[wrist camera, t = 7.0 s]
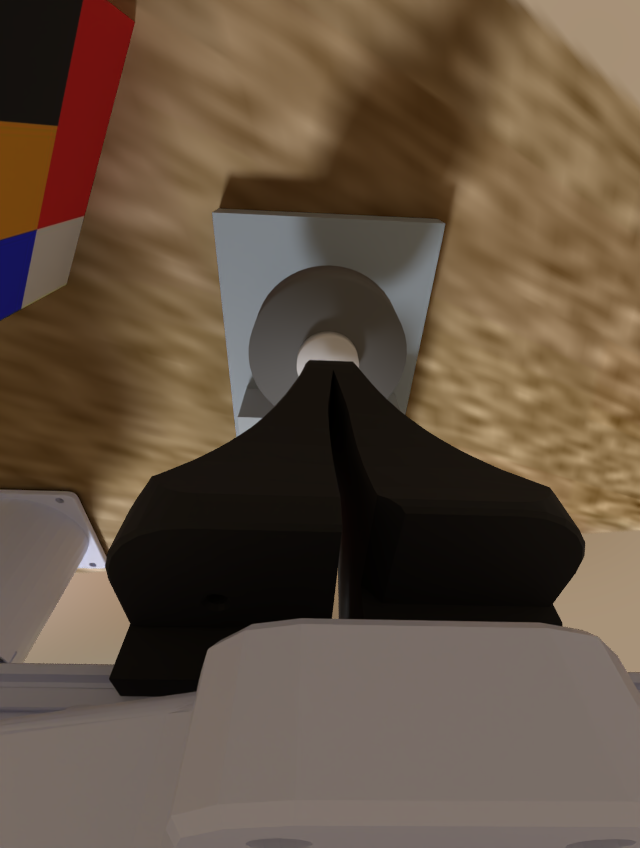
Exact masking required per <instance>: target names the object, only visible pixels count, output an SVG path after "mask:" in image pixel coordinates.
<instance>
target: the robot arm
mask: <svg viewBox="0 0 640 848" xmlns="http://www.w3.org/2000/svg"><path fill="white" fill-rule="evenodd" d="M584 552H585V541H584V539H583V537H582V535H581V532H580V530H579V529H578V527H577V526H576V524H575V523H574V521H573V520H572V519H571V517H570V516H569V514H568V513H567V511H566V510H565V508H564V507H563V505H562V504H561V503H560V501H559V500H558V498H557V497H556V495H555V494H554V493H553V491H552V490H551V489H550V487H547V486H544V485H541V484H539V483H536V482H533V481H531V480H528V479H525V478H523V477H520V476H517V475H515V474H512V473H509V472H506V471H504V470H501V469H499V468H496V467H494V466H492V465H490V464H488V463H485V462H483V461H481V460H479V459H477V458H474V457H472V456H470V455H468V454H466V453H464V452H462V451H460V450H458V449H457V448H455V447H453V446H451V445H450V444H448V443H446V442H444V441H443V440H441V439H439V438H437V437H436V436H434V435H433V434H431V433H429V432H428V431H426V430H425V429H423V428H422V427H421V426H419V425H418V424H416V423H415V422H414V421H412V420H411V419H410V418H408V417H407V416H406V415H404V414H403V413H402V412H401V411H400V410H398V409H397V408H396V407H395V406H394V405H393V404H392V403H391V402H390V401H388V400H387V399H386V398H385V397H384V396H383V395H382V394H381V393H380V392H379V391H378V390H377V389H376V388H375V386H374V385H373V384H372V383H371V382H370V381H369V380H368V378H367V377H366V376H365V375H364V374H363V373H362V371H361V370H360V369H359V368H358V367H357V365H356V364H355V363H354V362H353V361H327V360H309V361H308V362H307V363H305V366H304V368H303V370H302V372H301V374H300V375H299V377H298V378H297V380H296V381H295V382H294V384H293V385H292V386H291V388H290V389H289V390H288V392H287V393H286V394H285V395H284V396H283V398H282V399H281V400H280V401H279V402H278V403H277V404H276V405H275V406H274V407H273V408H272V409H271V410H270V411H269V412H268V413H267V414H266V415H265V416H264V417H263V418H262V419H261V420H259V421H258V422H257V423H256V424H255V425H253V426H252V427H251V428H249V429H248V430H246V431H245V432H243V433H242V434H240V435H239V436H237V437H236V438H234V439H233V440H231V441H230V442H228V443H226V444H224V445H223V446H221V447H219V448H217V449H215V450H213V451H211V452H209V453H207V454H205V455H204V456H201V457H199V458H197V459H195V460H193V461H190V462H188V463H185V464H183V465H181V466H178V467H176V468H173V469H171V470H168V471H166V472H163V473H161V474H158V475H155V476H152V477H151V478H150V480H149V482H148V483H147V485H146V486H145V488H144V489H143V490H142V492H141V493H140V495H139V496H138V497H137V499H136V501H135V502H134V504H133V506H132V507H131V509H130V511H129V512H128V514H127V516H126V518H125V520H124V522H123V524H122V526H121V528H120V530H119V532H118V533H117V535H116V537H115V539H114V541H113V543H112V545H111V547H110V549H109V551H108V554H107V557H106V555H105V553H104V551H103V549H102V547H101V545H100V542H99V540H98V538H97V536H96V534H95V532H94V530H93V528H92V525H91V523H90V521H89V519H88V517H87V515H86V513H85V511H84V508H83V506H82V504H81V502H80V500H79V498H78V496H77V495H76V494H75V493H73V492H69V491H37V490H0V848H640V672H627V671H626V669H625V668H624V666H623V664H622V663H621V661H620V659H619V658H618V656H617V655H616V654H615V653H614V652H613V651H612V650H611V649H610V648H609V647H608V646H607V645H606V644H605V643H604V642H603V641H602V640H601V639H600V638H599V637H598V636H595V635H593V634H591V633H588V632H586V631H583V630H579V629H573V628H568V627H562V621H561V619H560V617H559V616H558V614H557V612H556V610H555V608H554V606H553V603H554V601H555V600H556V598H557V597H558V596H559V594H560V593H561V592H562V590H563V589H564V588H565V586H566V585H567V584H568V582H569V581H570V580H571V578H572V577H573V576H574V574H575V573H576V571H577V569H578V567H579V565H580V564H581V562H582V560H583V557H584ZM77 568H106V571H107V575H108V579H109V581H110V583H111V585H112V587H113V589H114V591H115V593H116V595H117V597H118V600H119V601H120V604H121V605H122V607H123V610H124V612H125V614H126V616H127V618H128V620H129V622H130V627H129V629H128V631H127V634H126V637H125V639H124V642H123V644H122V647H121V649H120V652H119V654H118V657H117V659H116V662H115V664H114V665H108V664H105V665H104V664H40V663H38V664H35V663H23V662H24V661H25V659H26V657H27V655H28V654H29V652H30V650H31V649H32V647H33V645H34V643H35V641H36V640H37V638H38V636H39V634H40V633H41V631H42V629H43V628H44V626H45V624H46V622H47V620H48V619H49V617H50V615H51V613H52V612H53V610H54V608H55V607H56V605H57V603H58V601H59V600H60V598H61V596H62V594H63V593H64V591H65V589H66V587H67V586H68V584H69V582H70V580H71V579H72V577H73V575H74V573H75V572H76V570H77ZM337 570H338V590H339V592H338V593H339V619H332V612H333V603H334V595H335V587H336V578H337Z"/></svg>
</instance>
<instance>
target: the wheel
mask: <svg viewBox="0 0 640 848" xmlns="http://www.w3.org/2000/svg"><path fill="white" fill-rule="evenodd" d="M406 356H407V344H406V338H405V333H404V330H403V327H402V324H401V322H400V320H399V318H398V316H397V314H396V312H395V310H394V308H393V306H392V304H391V302H390V300H389V298H388V297H387V295H386V294H385V292H384V291H383V290H382V289H381V288H380V287H379V286H378V285H377V284H376V283H375V282H374V281H372V280H371V279H370V278H368V277H367V276H365V275H363V274H362V273H360V272H357V271H355V270H352V269H349V268H345V267H341V266H332V265H325V266H315V267H310V268H306V269H303V270H300V271H298V272H296V273H294V274H291V275H290V276H288V277H287V278H285V279H284V280H282V281H281V282H280V283H279V284H278V285H276V286H275V287H274V288H273V289H272V291H271V292H270V293H269V294H268V296H267V297H266V299H265V300H264V302H263V304H262V306H261V308H260V310H259V313H258V316H257V318H256V321H255V324H254V327H253V330H252V333H251V336H250V341H249V364H250V369H251V372H252V376H253V378H254V380H255V382H256V384H257V386H258V388H259V389H260V391H261V392H262V393H263V395H264V396H265V397H266V398H267V399H268V400H269V401H270V402H271V403H272V404H273V405H274V406H275V405H276V404H277V403H278V402H279V401H280V400H281V399H282V398H283V396H284V395H285V394H286V393H287V392H288V390H289V389H290V388H291V386H292V385H293V384H294V382H295V381H296V380H297V378H298V377H299V375H300V374H301V372H302V370H303V368H304V366H305V363H307V362H308V361H309V360H327V361H353V362H354V363H355V364H356V365H357V367H358V368H359V369H360V370H361V371H362V373H363V374H364V375H365V376H366V377H367V378H368V380H369V381H370V382H371V383H372V384H373V385H374V386H375V388H376V389H377V390H378V391H379V392H380V393H381V394H382V395H383V396H384V397H385V398H386V399H387V398H388V397H389V396H390V395H391V393H392V392H393V391H394V389H395V388H396V386H397V385H398V383H399V381H400V379H401V376H402V374H403V371H404V368H405V364H406Z"/></svg>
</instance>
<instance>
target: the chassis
mask: <svg viewBox="0 0 640 848" xmlns="http://www.w3.org/2000/svg"><path fill="white" fill-rule="evenodd" d="M212 216H213V225H214V234H215V243H216V253H217V262H218V271H219V280H220V290H221V299H222V308H223V317H224V326H225V336H226V345H227V354H228V363H229V373H230V382H231V391H232V400H233V410H234V419H235V428H236V437H237V436H239V435H240V434H242V433H243V432H245V431H246V430H248V429H249V428H251V427H252V426H253V425H255V424H256V423H257V422H258V421H259V420H261V419H262V418H263V417H264V416H265V415H266V414H267V413H268V412H269V411H270V410H271V409H272V408H273V407H274V405H273V404H272V403H271V402H270V401H269V400H268V399H267V398H266V397H265V396H264V395H263V393H262V392H261V391H260V389H259V388H258V386H257V384H256V382H255V380H254V378H253V376H252V372H251V369H250V364H249V341H250V336H251V333H252V330H253V327H254V324H255V321H256V318H257V316H258V313H259V310H260V308H261V306H262V304H263V302H264V300H265V299H266V297H267V296H268V294H269V293H270V292H271V291H272V289H273V288H274V287H275V286H276V285H278V284H279V283H280V282H281V281H282V280H284V279H285V278H287V277H288V276H290V275H291V274H294V273H296V272H298V271H300V270H303V269H306V268H310V267H315V266H325V265H332V266H341V267H345V268H349V269H352V270H355V271H357V272H360V273H362V274H363V275H365V276H367V277H368V278H370V279H371V280H372V281H374V282H375V283H376V284H377V285H378V286H379V287H380V288H381V289H382V290H383V291H384V292H385V294H386V295H387V297H388V298H389V300H390V302H391V304H392V306H393V308H394V310H395V312H396V314H397V316H398V318H399V320H400V322H401V324H402V327H403V330H404V333H405V338H406V344H407V356H406V364H405V368H404V371H403V374H402V376H401V379H400V381H399V383H398V385H397V386H396V388H395V389H394V391H393V392H392V393H391V395H390V396H389V397H388V398H387V400H388V401H390V402H391V403H392V404H393V405H394V406H395V407H396V408H397V409H398V410H400V411H401V412H402V413H403V414H404V415H405V414H406V409H407V404H408V399H409V395H410V390H411V385H412V380H413V376H414V371H415V366H416V361H417V357H418V352H419V347H420V342H421V338H422V333H423V328H424V323H425V319H426V314H427V309H428V304H429V300H430V295H431V290H432V285H433V281H434V276H435V271H436V266H437V262H438V257H439V252H440V247H441V243H442V238H443V233H444V228H445V223H444V222H442V221H440V220H439V219H429V218H408V217H387V216H366V215H345V214H325V213H304V212H283V211H262V210H241V209H220V208H219V209H217V210H215V211H214V212H212Z"/></svg>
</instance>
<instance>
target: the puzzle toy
mask: <svg viewBox="0 0 640 848" xmlns="http://www.w3.org/2000/svg"><path fill="white" fill-rule="evenodd" d="M134 23H135V22H134V21H133V20H132V19H130V18H129V17H128V16H126V15H125V14H124V13H123V12H121V11H120V10H119V9H118V8H116V7H115V6H114V5H112V4H111V3H110V2H109V1H107V0H0V321H1V320H3V319H4V318H6V317H8V316H10V315H12V314H14V313H15V312H17V311H19V310H21V309H23V308H25V307H26V306H28V305H30V304H32V303H34V302H36V301H38V300H39V299H41V298H43V297H45V296H47V295H49V294H50V293H52V292H54V291H56V290H58V289H60V288H61V287H63V286H65V285H67V281H68V277H69V273H70V269H71V265H72V262H73V258H74V254H75V250H76V246H77V242H78V239H79V235H80V231H81V227H82V223H83V219H84V215H85V212H86V208H87V204H88V200H89V196H90V192H91V189H92V185H93V181H94V177H95V173H96V169H97V166H98V162H99V158H100V154H101V150H102V146H103V143H104V139H105V135H106V131H107V127H108V123H109V119H110V116H111V112H112V108H113V104H114V100H115V96H116V93H117V89H118V85H119V81H120V77H121V73H122V70H123V66H124V62H125V58H126V54H127V50H128V47H129V43H130V39H131V35H132V31H133V27H134Z"/></svg>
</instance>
